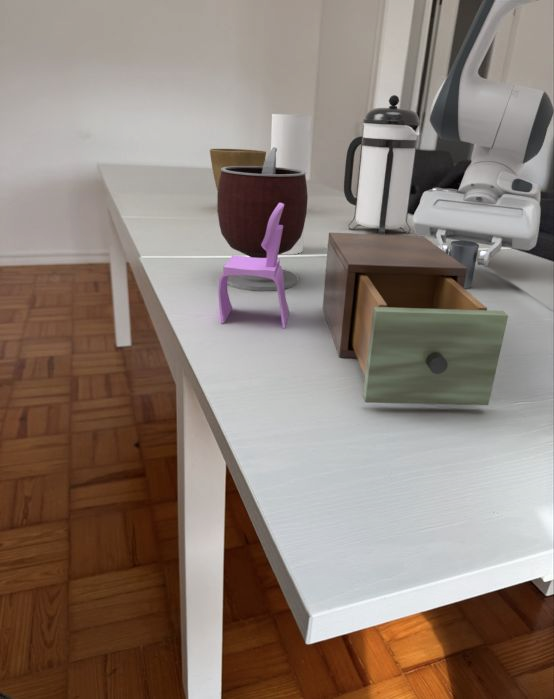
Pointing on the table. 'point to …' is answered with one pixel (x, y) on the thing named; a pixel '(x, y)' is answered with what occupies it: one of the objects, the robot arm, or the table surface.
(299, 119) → the cylindrical container
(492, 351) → the drawer
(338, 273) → the cabinet
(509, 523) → the table surface
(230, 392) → the table surface
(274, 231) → the toy chair
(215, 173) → the plant pot
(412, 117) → the coffee press
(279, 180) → the mate gourd
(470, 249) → the steel cylinder
